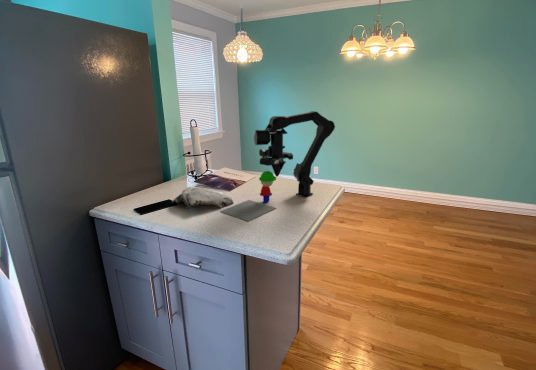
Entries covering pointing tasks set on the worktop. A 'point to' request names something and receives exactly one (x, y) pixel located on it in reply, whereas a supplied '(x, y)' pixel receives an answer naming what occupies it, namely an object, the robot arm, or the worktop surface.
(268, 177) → the toy
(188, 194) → the stone fragment
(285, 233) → the worktop surface
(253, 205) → the mat
